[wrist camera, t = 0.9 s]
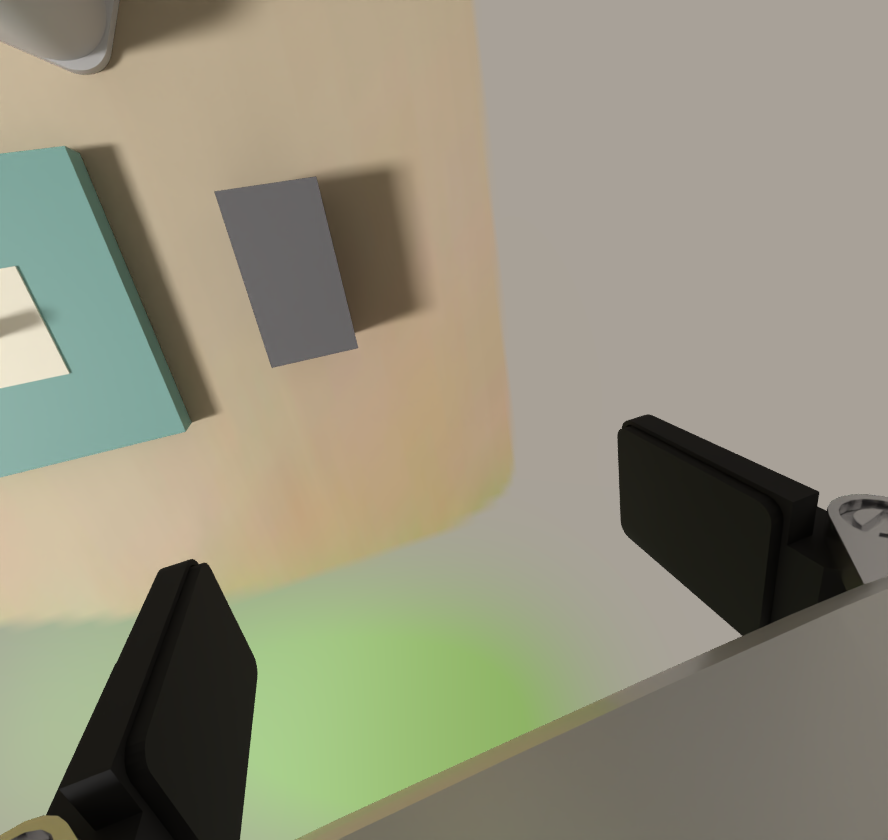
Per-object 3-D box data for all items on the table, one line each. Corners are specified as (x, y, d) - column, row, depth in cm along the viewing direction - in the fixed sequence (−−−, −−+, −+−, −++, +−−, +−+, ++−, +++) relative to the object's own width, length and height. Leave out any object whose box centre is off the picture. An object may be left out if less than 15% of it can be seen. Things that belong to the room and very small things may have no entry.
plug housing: (276, 351, 27) (271, 367, 23) (229, 203, 24) (214, 191, 20) (350, 334, 28) (358, 348, 23) (313, 190, 25) (316, 176, 20)
